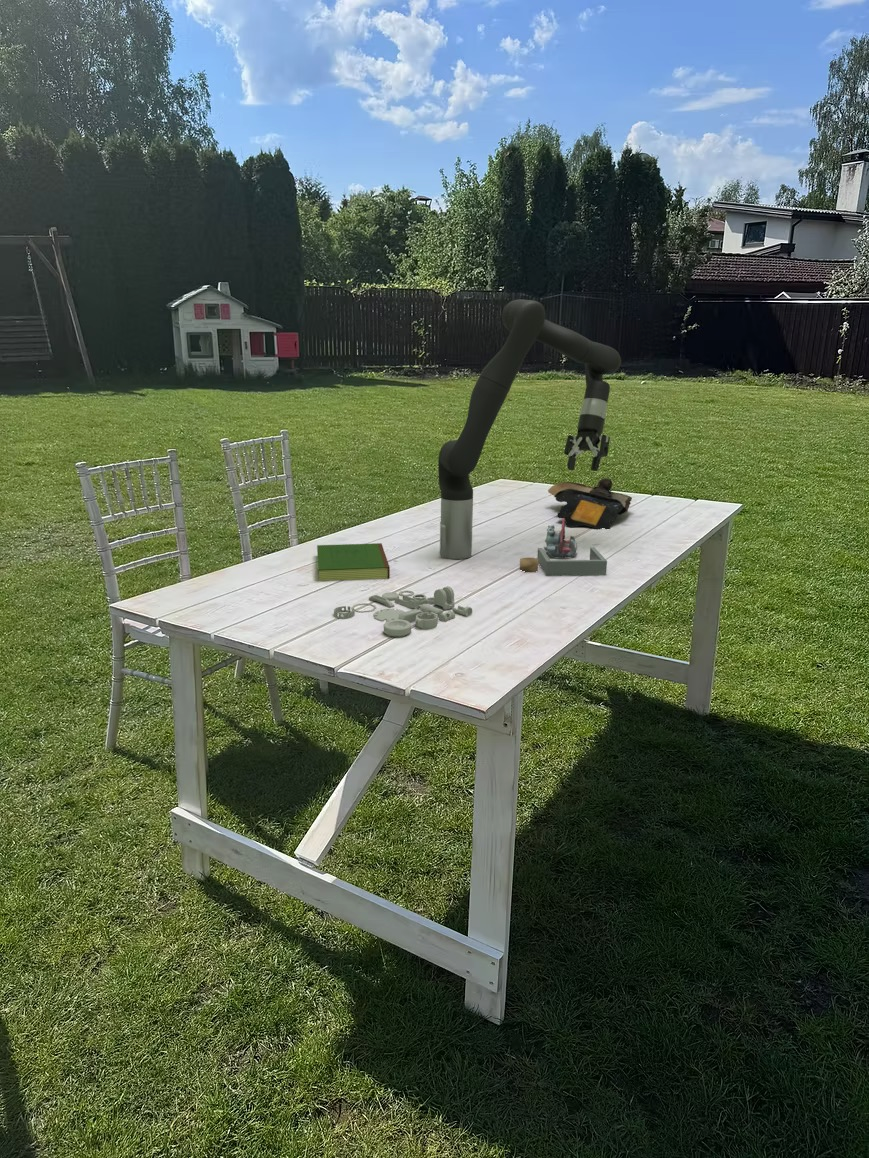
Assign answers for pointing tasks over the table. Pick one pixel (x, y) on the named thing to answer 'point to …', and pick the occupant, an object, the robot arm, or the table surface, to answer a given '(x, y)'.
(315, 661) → the table surface
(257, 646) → the table surface
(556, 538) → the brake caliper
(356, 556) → the hardcover book
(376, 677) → the table surface
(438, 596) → the robot parts
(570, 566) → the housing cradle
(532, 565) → the tan rounded lump
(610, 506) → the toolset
